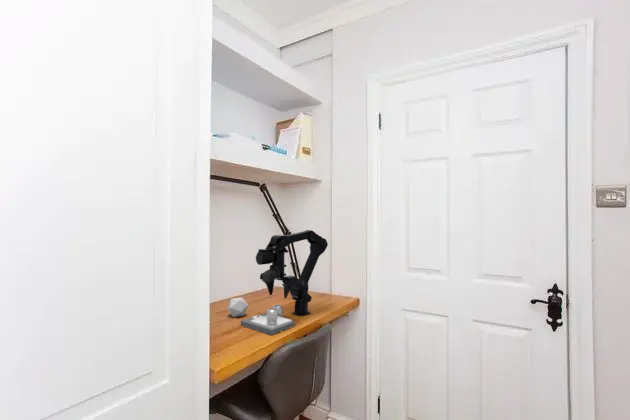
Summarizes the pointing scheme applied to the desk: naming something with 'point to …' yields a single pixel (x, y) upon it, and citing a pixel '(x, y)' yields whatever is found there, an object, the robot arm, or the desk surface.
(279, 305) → the spacer
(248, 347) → the desk surface
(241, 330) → the desk surface
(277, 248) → the robot arm
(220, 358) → the desk surface
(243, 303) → the die
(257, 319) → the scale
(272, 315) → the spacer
